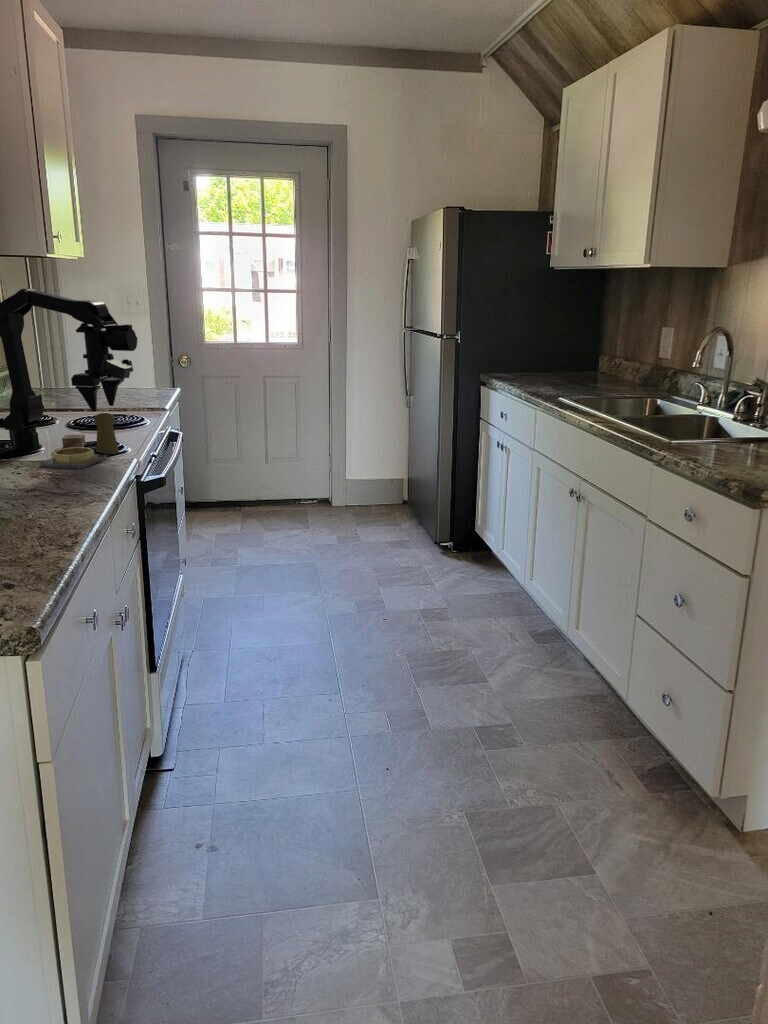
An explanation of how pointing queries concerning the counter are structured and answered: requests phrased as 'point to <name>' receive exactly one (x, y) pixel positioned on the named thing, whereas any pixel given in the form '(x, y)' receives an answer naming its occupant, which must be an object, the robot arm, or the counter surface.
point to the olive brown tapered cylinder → (105, 434)
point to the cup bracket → (73, 458)
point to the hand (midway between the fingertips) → (103, 408)
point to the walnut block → (73, 441)
